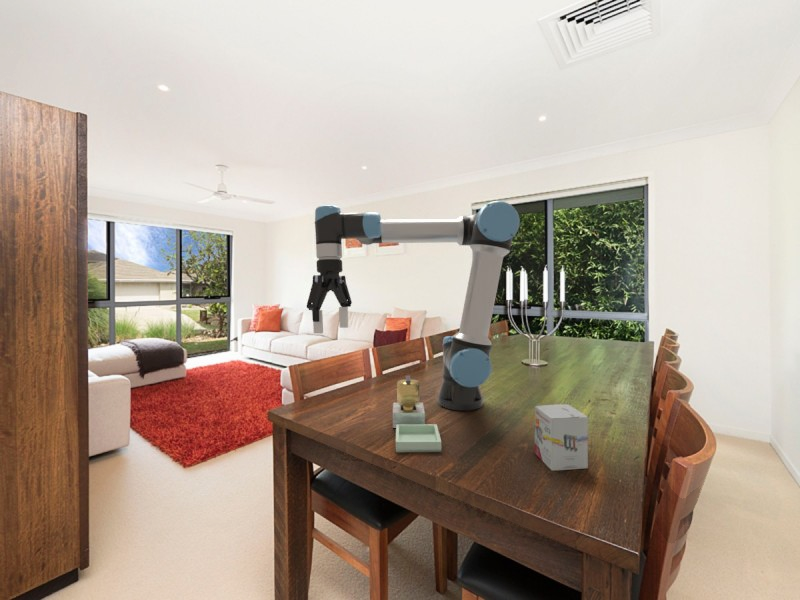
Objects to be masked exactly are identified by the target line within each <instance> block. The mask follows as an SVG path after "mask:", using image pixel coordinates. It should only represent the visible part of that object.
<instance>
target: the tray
mask: <svg viewBox="0 0 800 600" xmlns="http://www.w3.org/2000/svg"><path fill="white" fill-rule="evenodd" d="M395 453H442V439H441V435H440V432H439V428H438V424H437V423H425V424H396V429H395Z"/></svg>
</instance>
